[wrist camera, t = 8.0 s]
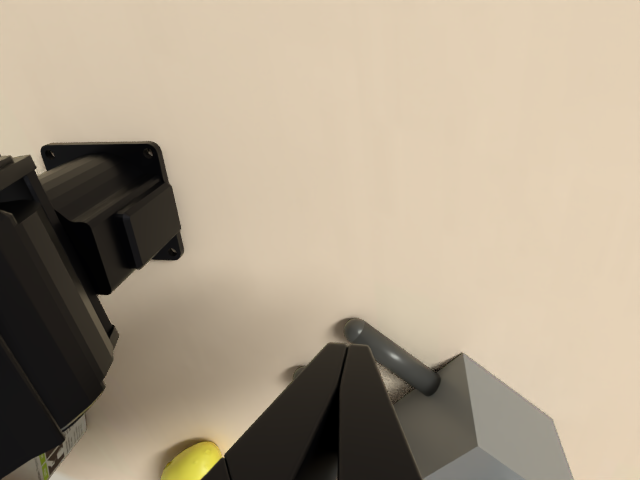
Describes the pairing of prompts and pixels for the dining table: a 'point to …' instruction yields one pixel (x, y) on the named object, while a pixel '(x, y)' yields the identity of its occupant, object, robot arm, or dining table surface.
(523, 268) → the dining table surface
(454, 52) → the dining table surface
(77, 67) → the dining table surface
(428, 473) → the switch box
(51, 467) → the coffee box
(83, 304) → the robot arm
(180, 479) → the yellow oval piece
